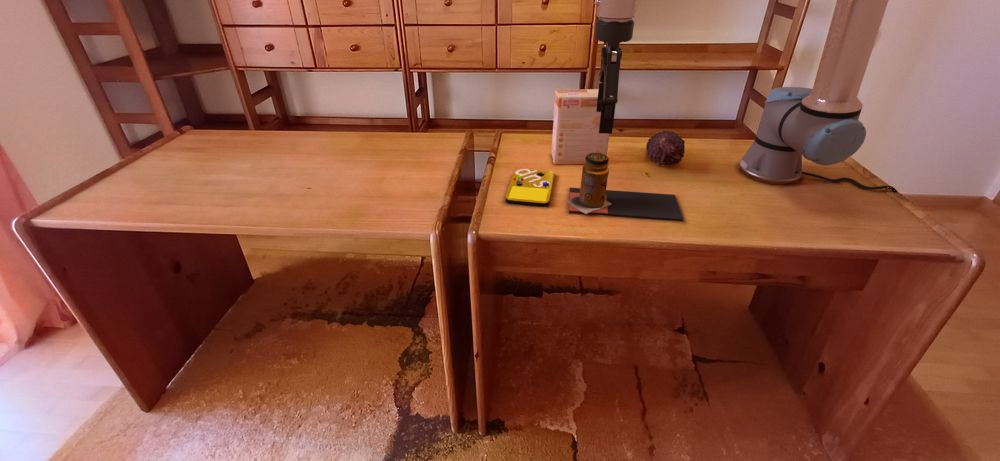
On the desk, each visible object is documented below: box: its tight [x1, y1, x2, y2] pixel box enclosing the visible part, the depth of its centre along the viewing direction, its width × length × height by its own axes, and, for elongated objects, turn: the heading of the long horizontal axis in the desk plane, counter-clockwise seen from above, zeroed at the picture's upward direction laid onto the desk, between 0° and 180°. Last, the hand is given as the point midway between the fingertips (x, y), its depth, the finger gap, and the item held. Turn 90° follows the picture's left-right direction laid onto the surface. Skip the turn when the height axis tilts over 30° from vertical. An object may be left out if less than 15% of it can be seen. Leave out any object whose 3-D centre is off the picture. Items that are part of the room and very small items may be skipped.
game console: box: [504, 168, 555, 208], centre depth 123 cm, size 18×11×2 cm, turn 171°
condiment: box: [565, 153, 611, 215], centre depth 112 cm, size 7×8×12 cm
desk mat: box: [568, 187, 684, 222], centre depth 116 cm, size 26×12×1 cm, turn 82°
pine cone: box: [645, 130, 686, 167], centre depth 135 cm, size 18×10×10 cm
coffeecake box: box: [551, 88, 613, 165], centre depth 133 cm, size 15×7×20 cm, turn 92°
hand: (603, 121), depth 106 cm, fingers open, 13 cm apart
